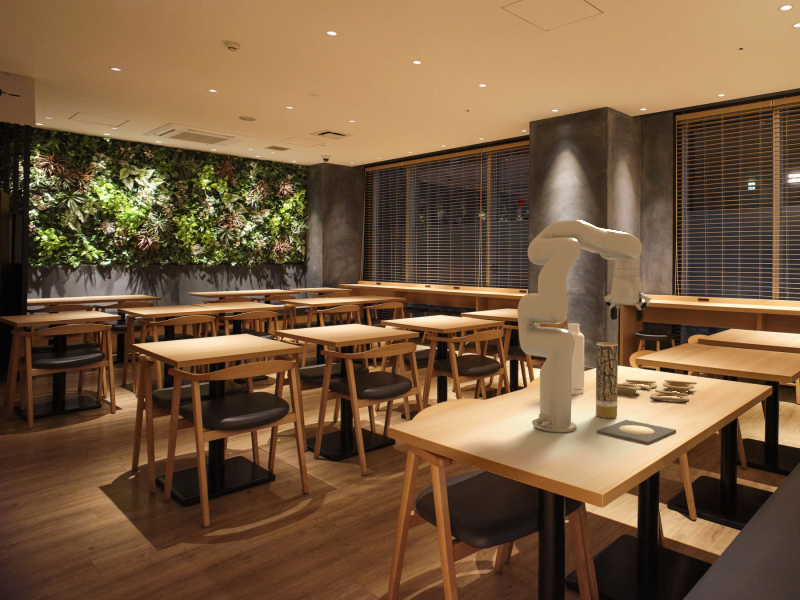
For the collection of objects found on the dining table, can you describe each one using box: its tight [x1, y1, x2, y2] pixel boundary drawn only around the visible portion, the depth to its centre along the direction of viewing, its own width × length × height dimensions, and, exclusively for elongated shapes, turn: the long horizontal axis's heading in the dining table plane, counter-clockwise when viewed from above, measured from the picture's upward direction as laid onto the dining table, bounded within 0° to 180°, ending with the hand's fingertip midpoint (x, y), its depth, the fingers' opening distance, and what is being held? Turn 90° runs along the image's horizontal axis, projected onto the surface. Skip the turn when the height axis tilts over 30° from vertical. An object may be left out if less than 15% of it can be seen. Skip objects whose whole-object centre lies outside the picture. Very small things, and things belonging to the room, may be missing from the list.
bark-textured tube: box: [595, 341, 619, 419], centre depth 190 cm, size 7×7×25 cm
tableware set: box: [617, 379, 698, 403], centre depth 228 cm, size 35×29×4 cm
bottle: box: [567, 322, 585, 395], centre depth 229 cm, size 8×8×28 cm
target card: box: [596, 419, 677, 445], centre depth 172 cm, size 18×16×1 cm
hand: (626, 320), depth 206 cm, fingers open, 9 cm apart
